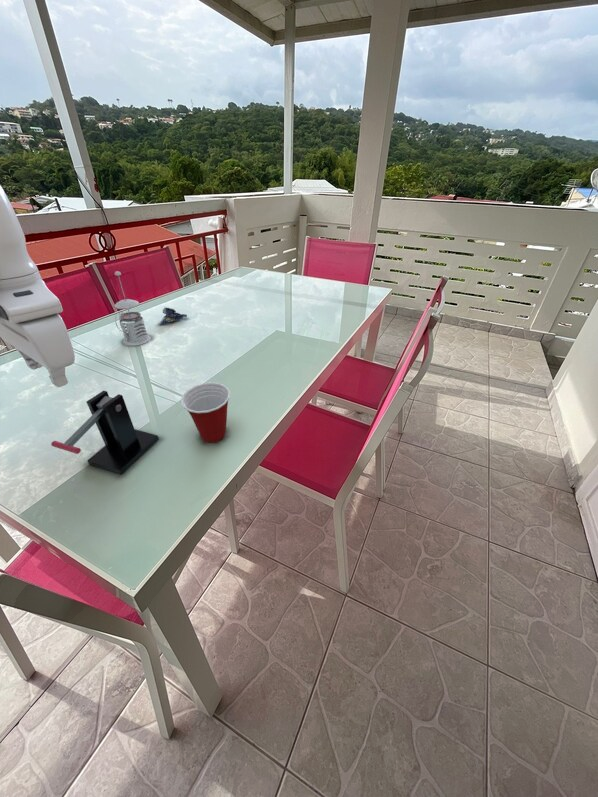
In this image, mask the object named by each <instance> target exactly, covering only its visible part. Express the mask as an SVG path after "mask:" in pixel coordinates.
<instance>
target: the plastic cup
mask: <svg viewBox="0 0 598 797" xmlns="http://www.w3.org/2000/svg"><path fill="white" fill-rule="evenodd" d="M230 396H231V390H230V389H229V387H228V386H226V385H225V384H223V383H220V382H213V381H212V382H202V383H199V384H196V385H194V386H192V387H190V388H188V389H187V390H186V391H185V392H184V393H183V394H182V396H181V398H180V403H181V405H182V407H183V409H185V410H186V411H187V412H188V414H189V415H190V417H191V419H192V421H193V423H194V426H195V427H196V429H197V431H198V433H199V435H200V438H201V439H202V440H203V441H204V442H205V443H217V442H220V441H221V440H223V439H224V438H225V436H226V433H227V432H226V431H227V421H228V404H229V400H230Z"/></svg>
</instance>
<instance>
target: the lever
mask: <svg viewBox="0 0 598 797" xmlns="http://www.w3.org/2000/svg"><path fill="white" fill-rule="evenodd" d="M112 398H113V397H111V396H109V397H108V396H105V397H104V398H103V399H102V400H100V401H99V402H98V403H97V404H96V406H97V408H98V410H97V411H96V412H95V413H94V414H93V415H92V414H91V416H90V417H89V418H88V419H87V420H86V421H85V422H84V423H83V424H82V425H81V426H80V427H79V428H78V429H77V430H75V431H74V432H73V433H72V435H71V436H70V437H69V438H68V439H66V441H65V442H64V443H63V442H61V441H58V440H53V441H52V442H51V443H50V444H51V446H52V447H53V448H55V449H56V448H57V449H60V450H64V451H65V452H69V453H72V454H76V455H78V454H80V453H81V451H82V450H81V448H80V447H77V446H75V444H76V443H77V442H79V440H81V438H82V437H83V436H84V435H86V433H87V432H88V431H89V430H90V429H91V428H92V427H93V426H94V425H95V424H96V422H97V421H98V420H99V419H100V418H101V417H102V416H103V415H104V414H105V412H104V410H103V407H102V405H104V404H105V403H107V402H108V401H109V400H111V399H112Z"/></svg>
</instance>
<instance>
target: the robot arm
mask: <svg viewBox="0 0 598 797" xmlns="http://www.w3.org/2000/svg"><path fill="white" fill-rule="evenodd" d="M62 312H64V309H63V306H62V303H61V301H60V299H59V298H58V296H56V295H55V294H54V293H53V292H52V291H51V290H50V289H49V288H48V287H47V285H46V283H45V281H44V280H43V277H42V276H41V273H40V271H39V268H38V266H37V265H36V263H35V262H34V261H33V259H32V257H31V256H30V254H29V252H28V249H27V242H26V236H25V233H24V231H23V228H22V226H21V224H20V221H19V218H18V216H17V214H16V212H15V209H14V207H13V205H12V203H11V201H10V198H9V196H8V195H7V194H6V192H5V190H4V189H3V187H2V185H1V184H0V338H1V339H2V340H3V341H5V342H6V343H8V344H9V345H11V346H12V347H14V348H15V349H16V351H17V352H18V353H19V355H20V356H21V358H22V359H23V360H24V362H25V364H26V366H27V368H30V369H31V370H34V371H35V370H37V369H41V368H42V367H43V368H45V369H46V370H48V374H49V375H48V377H49V380H50V382H51V384H52V385H54V386H55V387H57V388H62V387H64V386H66V385H68V383H69V380H68V378H67V376H66V368H67V367H70V366H72V365H74V364H75V359H76V355H75V354H76V353H75V350H74V348H73V344H72V340H71V337H70V335H69V332H68V329H67V326H66V324H65V321H64V320H63V318H62V316H61V315H60V313H62Z"/></svg>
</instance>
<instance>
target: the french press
mask: <svg viewBox="0 0 598 797" xmlns="http://www.w3.org/2000/svg"><path fill="white" fill-rule="evenodd" d="M114 275H115V276H117V277H118V280H119V284H120V287H121V291H122V295H123V298H124V299H121V300H119V301H117V302H116V303H115V304H114V306H113V307H114V308H115V309H116V310H127V312H119V311H117V312H116V314H115V317H114V319H115V325H116V326H115V327H117V329H118V330H119V331H120V332H122V333H123V337H124V340H123V341H122V344H124V345H125V346H130V347H131V346H134V347H135V346H140V345H144V344H147V343H149V342H150V341H151V340H152V336H150V335H148V332H147V328H146V325H145V321H144V317H143V316H141V315H142V314H141V313H140V312H139V311H130V309H133V308H136V307H138V306H139V305H140V302H139V301H138V300H135V299H130V298H126V294H125V293H124V289H123V285H122V282H121V278H120V276H122V273H121V271H118V270H116V271H114ZM118 315H119V316H118ZM117 316H118V317H119V320H118V321H119V322H118V323H119V326H120V328H121V329H120V328H119V326H118V323H117Z"/></svg>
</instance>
